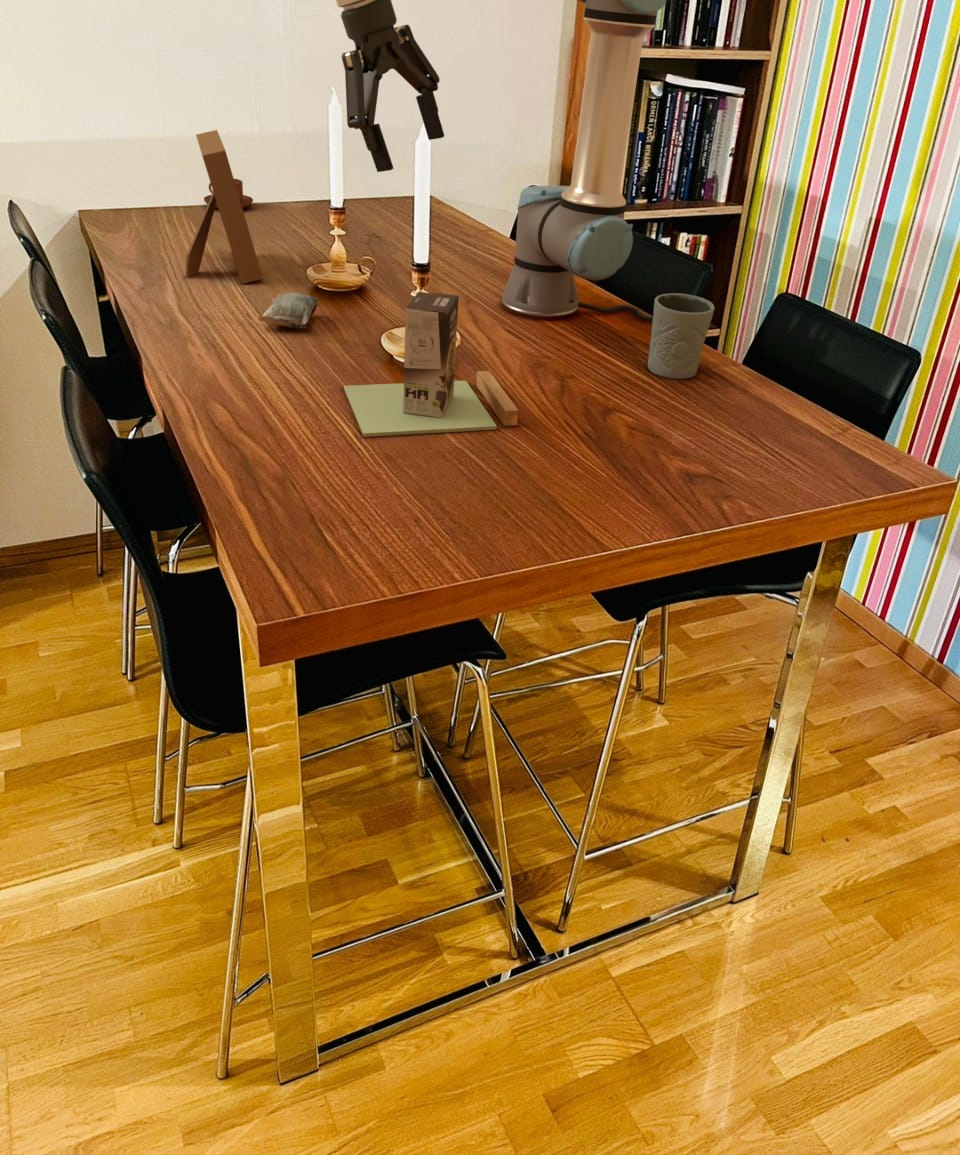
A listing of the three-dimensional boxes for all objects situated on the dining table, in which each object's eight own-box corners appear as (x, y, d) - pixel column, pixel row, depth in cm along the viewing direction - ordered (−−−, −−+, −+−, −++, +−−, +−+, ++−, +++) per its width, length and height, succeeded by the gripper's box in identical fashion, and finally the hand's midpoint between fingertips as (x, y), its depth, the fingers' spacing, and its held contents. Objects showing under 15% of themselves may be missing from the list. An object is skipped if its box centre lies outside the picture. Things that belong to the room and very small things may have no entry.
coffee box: (443, 418, 150) (448, 312, 141) (401, 413, 151) (403, 307, 142) (455, 396, 158) (460, 294, 149) (415, 391, 158) (418, 289, 150)
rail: (488, 385, 164) (489, 370, 163) (517, 425, 151) (518, 410, 150) (476, 385, 164) (477, 371, 162) (504, 426, 151) (505, 410, 149)
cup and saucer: (196, 209, 249) (194, 183, 246) (215, 199, 259) (213, 174, 256) (243, 214, 248) (241, 188, 244) (260, 204, 258) (258, 179, 254)
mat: (465, 383, 164) (466, 380, 164) (496, 429, 150) (496, 425, 149) (343, 389, 159) (343, 385, 158) (363, 437, 144) (363, 433, 144)
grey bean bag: (259, 331, 178) (258, 304, 176) (273, 310, 188) (272, 284, 186) (308, 335, 178) (308, 308, 176) (319, 314, 188) (319, 288, 186)
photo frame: (252, 253, 219) (245, 130, 206) (263, 283, 202) (256, 150, 189) (182, 254, 215) (169, 128, 202) (186, 285, 198) (174, 149, 185)
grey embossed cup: (666, 355, 181) (678, 289, 175) (713, 372, 176) (727, 305, 169) (632, 367, 175) (642, 299, 169) (679, 385, 169) (691, 316, 163)
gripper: (396, -16, 152) (438, 128, 164) (288, 32, 138) (344, 187, 149) (433, -27, 148) (475, 122, 159) (327, 22, 133) (381, 182, 145)
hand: (411, 154), depth 154 cm, fingers open, 13 cm apart
